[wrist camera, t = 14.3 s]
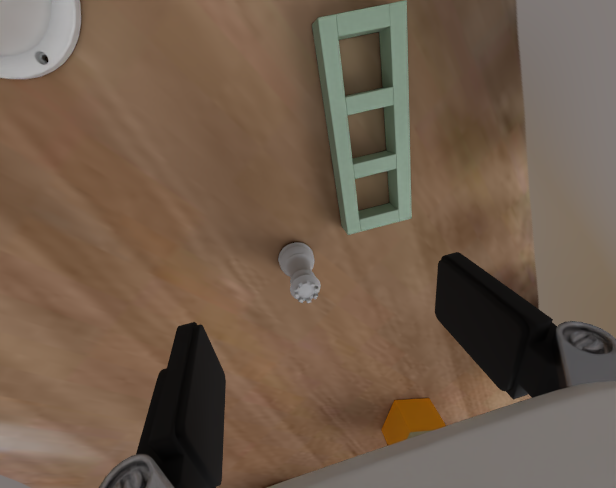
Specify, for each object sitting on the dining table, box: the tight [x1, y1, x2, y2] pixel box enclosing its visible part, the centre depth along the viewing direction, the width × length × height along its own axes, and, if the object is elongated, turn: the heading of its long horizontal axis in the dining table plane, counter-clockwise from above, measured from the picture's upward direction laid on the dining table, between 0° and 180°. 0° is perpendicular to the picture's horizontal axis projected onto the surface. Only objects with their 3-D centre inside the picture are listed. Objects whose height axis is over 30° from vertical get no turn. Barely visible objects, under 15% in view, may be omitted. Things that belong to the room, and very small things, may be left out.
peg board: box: [312, 0, 412, 235], centre depth 31 cm, size 8×21×2 cm, turn 11°
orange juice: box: [382, 398, 446, 445], centre depth 48 cm, size 8×9×20 cm
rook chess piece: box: [278, 242, 321, 303], centre depth 33 cm, size 4×4×8 cm
